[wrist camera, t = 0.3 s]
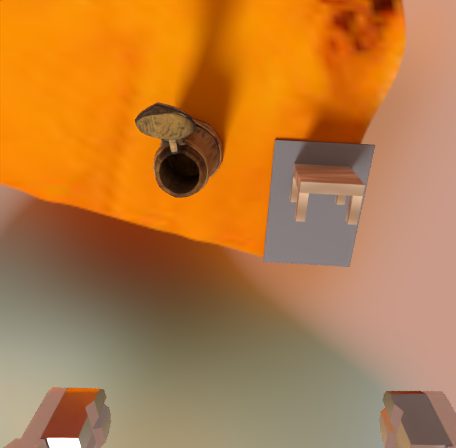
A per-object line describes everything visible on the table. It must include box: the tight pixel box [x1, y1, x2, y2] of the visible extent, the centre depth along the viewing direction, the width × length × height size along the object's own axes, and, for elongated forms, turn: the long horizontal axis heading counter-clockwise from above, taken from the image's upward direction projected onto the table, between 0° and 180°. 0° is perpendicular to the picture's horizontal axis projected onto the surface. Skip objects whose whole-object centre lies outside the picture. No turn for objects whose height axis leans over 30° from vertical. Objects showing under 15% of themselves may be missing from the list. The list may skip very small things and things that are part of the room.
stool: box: [290, 164, 365, 225], centre depth 52 cm, size 6×8×8 cm
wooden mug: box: [135, 102, 223, 197], centre depth 45 cm, size 9×14×18 cm, turn 3°
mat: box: [264, 140, 375, 267], centre depth 57 cm, size 20×14×1 cm
